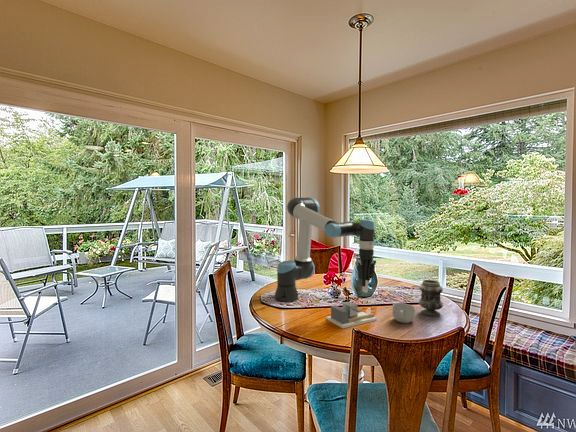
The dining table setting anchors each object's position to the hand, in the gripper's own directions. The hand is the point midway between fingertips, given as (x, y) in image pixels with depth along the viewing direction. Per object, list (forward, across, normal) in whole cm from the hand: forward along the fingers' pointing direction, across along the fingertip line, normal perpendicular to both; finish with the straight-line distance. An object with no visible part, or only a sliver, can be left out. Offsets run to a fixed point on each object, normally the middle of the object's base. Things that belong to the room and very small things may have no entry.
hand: (365, 291), depth 165 cm
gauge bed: (+13, -10, -1) cm, 16 cm away
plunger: (+12, -11, -3) cm, 16 cm away
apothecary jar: (+13, +34, -15) cm, 40 cm away
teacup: (+13, +11, -16) cm, 23 cm away
